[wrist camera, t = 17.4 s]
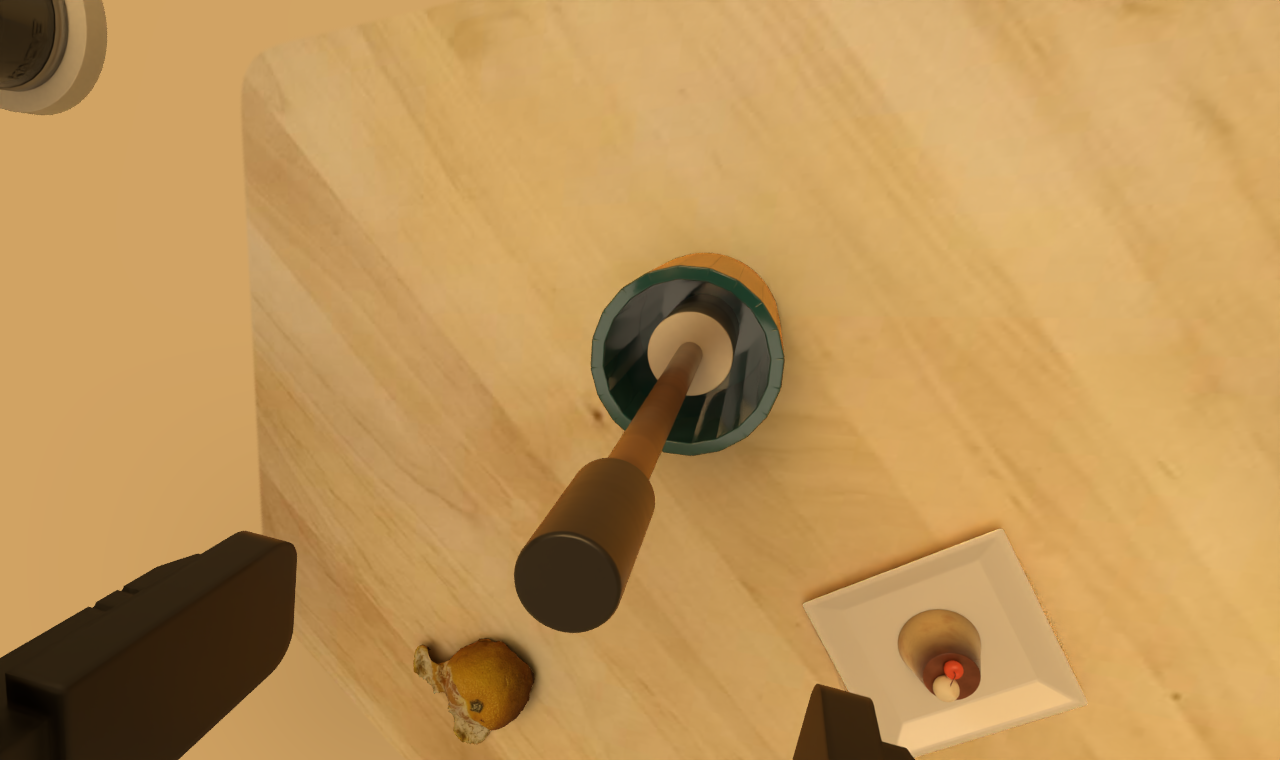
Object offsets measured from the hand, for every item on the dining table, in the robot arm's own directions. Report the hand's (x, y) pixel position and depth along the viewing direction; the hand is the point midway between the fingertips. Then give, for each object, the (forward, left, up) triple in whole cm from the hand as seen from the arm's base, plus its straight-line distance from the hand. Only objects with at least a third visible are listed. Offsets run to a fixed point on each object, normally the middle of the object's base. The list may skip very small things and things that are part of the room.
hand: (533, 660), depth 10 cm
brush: (0, 0, -30) cm, 30 cm away
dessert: (+23, -5, -31) cm, 39 cm away
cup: (0, 0, -31) cm, 31 cm away
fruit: (+4, -29, -31) cm, 43 cm away
